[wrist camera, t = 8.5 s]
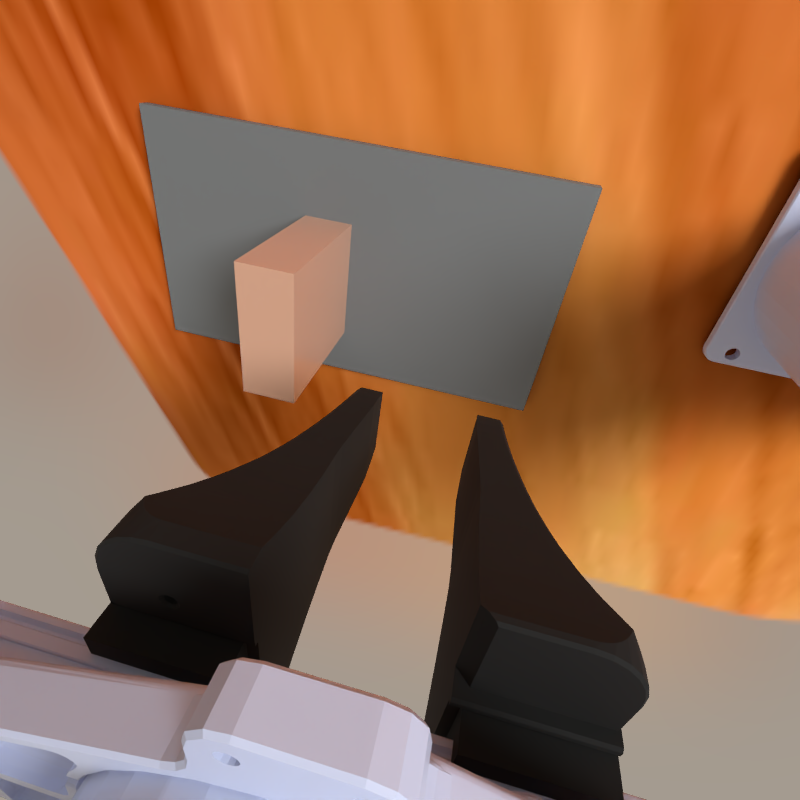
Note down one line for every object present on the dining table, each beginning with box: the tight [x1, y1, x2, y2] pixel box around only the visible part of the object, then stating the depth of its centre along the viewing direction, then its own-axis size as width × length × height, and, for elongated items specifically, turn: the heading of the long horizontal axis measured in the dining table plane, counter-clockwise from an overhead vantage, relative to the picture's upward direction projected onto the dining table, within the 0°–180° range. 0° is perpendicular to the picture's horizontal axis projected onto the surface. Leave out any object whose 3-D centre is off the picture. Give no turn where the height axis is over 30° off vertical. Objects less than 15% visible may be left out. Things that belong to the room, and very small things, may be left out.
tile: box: [234, 215, 352, 403], centre depth 19 cm, size 2×5×6 cm, turn 172°
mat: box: [139, 103, 602, 411], centre depth 21 cm, size 18×10×1 cm, turn 82°
